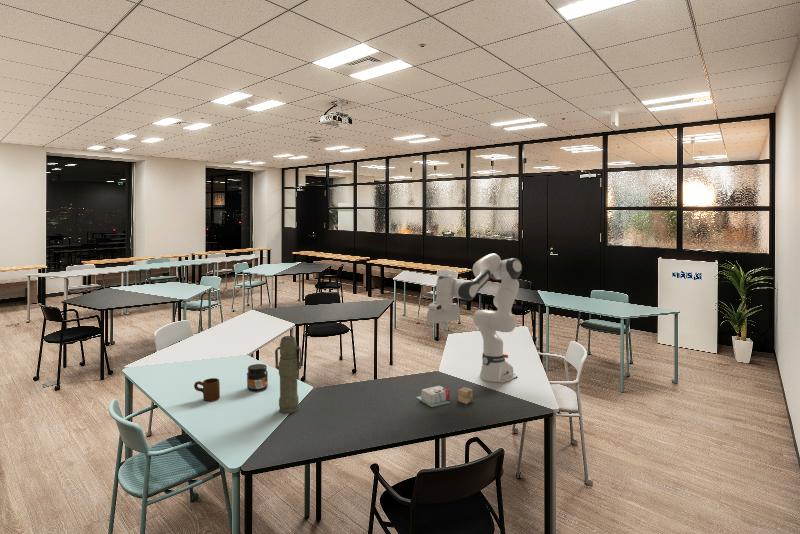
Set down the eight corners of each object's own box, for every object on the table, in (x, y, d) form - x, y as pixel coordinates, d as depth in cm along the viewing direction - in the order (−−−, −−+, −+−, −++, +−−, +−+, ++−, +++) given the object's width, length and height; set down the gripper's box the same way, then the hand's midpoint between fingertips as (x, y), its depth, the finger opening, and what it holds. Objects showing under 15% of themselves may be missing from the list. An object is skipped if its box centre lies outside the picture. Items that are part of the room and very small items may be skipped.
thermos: (276, 407, 218) (275, 335, 214) (301, 405, 220) (301, 334, 216) (274, 414, 209) (273, 340, 206) (301, 413, 211) (300, 339, 208)
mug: (191, 402, 222) (191, 383, 221) (197, 396, 229) (196, 378, 228) (217, 401, 223) (216, 383, 222) (221, 395, 230) (221, 377, 230)
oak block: (463, 398, 232) (464, 387, 231) (472, 401, 228) (472, 389, 228) (458, 401, 228) (458, 389, 228) (466, 404, 225) (466, 392, 224)
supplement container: (259, 393, 234) (259, 370, 233) (242, 390, 238) (242, 368, 237) (271, 386, 244) (271, 364, 243) (255, 384, 248) (254, 362, 247)
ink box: (450, 390, 229) (431, 394, 222) (449, 400, 229) (431, 404, 222) (439, 385, 236) (421, 388, 229) (438, 394, 236) (420, 398, 230)
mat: (433, 393, 238) (433, 393, 237) (450, 402, 226) (450, 402, 226) (415, 397, 232) (415, 397, 232) (431, 407, 220) (431, 406, 220)
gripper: (455, 302, 254) (454, 326, 256) (425, 305, 243) (425, 330, 245) (462, 303, 249) (462, 328, 250) (432, 307, 238) (432, 333, 240)
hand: (443, 329), depth 248 cm, fingers closed
